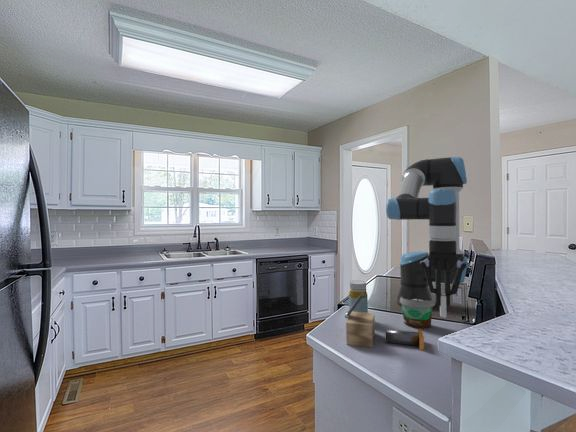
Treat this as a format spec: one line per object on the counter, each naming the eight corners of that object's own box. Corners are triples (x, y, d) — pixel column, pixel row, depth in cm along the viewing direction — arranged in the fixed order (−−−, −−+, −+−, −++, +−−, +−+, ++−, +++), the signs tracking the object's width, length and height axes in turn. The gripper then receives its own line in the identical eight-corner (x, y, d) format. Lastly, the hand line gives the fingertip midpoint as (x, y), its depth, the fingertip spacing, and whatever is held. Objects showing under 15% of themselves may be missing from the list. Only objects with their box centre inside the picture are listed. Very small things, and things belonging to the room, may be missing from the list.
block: (374, 333, 111) (374, 313, 111) (372, 347, 99) (371, 325, 99) (351, 330, 113) (351, 311, 113) (346, 344, 102) (346, 322, 102)
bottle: (368, 324, 119) (367, 284, 119) (349, 323, 121) (348, 284, 120) (367, 317, 126) (366, 280, 126) (349, 317, 127) (348, 280, 127)
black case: (422, 341, 103) (421, 329, 103) (423, 350, 97) (423, 337, 97) (386, 337, 107) (386, 325, 107) (385, 345, 101) (385, 333, 100)
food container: (399, 327, 115) (399, 300, 115) (399, 321, 121) (399, 295, 121) (436, 331, 111) (436, 303, 111) (435, 325, 117) (434, 298, 117)
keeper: (365, 293, 108) (362, 291, 108) (363, 296, 103) (360, 294, 104) (349, 314, 110) (346, 312, 110) (347, 319, 105) (344, 316, 106)
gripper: (463, 238, 99) (464, 314, 99) (418, 238, 103) (419, 310, 103) (469, 241, 92) (469, 322, 92) (420, 240, 96) (421, 317, 96)
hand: (443, 315), depth 98 cm, fingers closed
